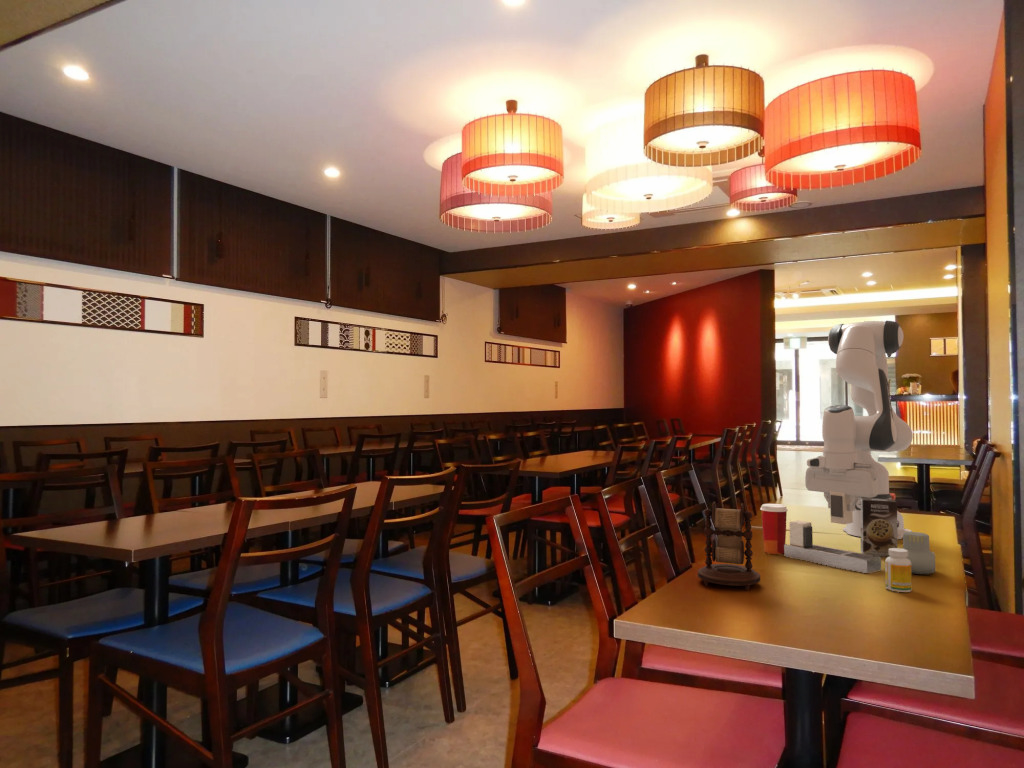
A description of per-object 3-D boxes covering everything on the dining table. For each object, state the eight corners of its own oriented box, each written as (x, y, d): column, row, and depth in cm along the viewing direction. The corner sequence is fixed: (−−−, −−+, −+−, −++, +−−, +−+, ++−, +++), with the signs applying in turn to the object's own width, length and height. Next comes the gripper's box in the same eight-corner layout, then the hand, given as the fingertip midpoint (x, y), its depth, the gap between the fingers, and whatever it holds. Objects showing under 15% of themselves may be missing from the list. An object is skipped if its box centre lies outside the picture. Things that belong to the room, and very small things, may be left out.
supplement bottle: (880, 588, 162) (879, 547, 162) (898, 586, 163) (898, 546, 163) (898, 594, 156) (897, 552, 157) (917, 592, 158) (916, 551, 158)
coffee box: (862, 555, 196) (861, 499, 196) (860, 550, 202) (859, 496, 202) (898, 557, 192) (897, 501, 193) (895, 553, 198) (894, 498, 199)
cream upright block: (838, 520, 197) (837, 489, 197) (852, 522, 193) (851, 491, 193) (829, 522, 194) (828, 491, 194) (843, 524, 191) (842, 493, 191)
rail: (798, 553, 198) (798, 519, 198) (881, 570, 178) (880, 532, 179) (784, 556, 194) (783, 522, 195) (867, 574, 174) (866, 535, 175)
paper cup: (783, 549, 203) (783, 503, 204) (791, 555, 196) (791, 507, 196) (757, 549, 204) (756, 503, 204) (764, 555, 196) (763, 507, 197)
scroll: (762, 579, 170) (761, 500, 171) (758, 594, 157) (756, 508, 157) (702, 573, 176) (701, 497, 177) (693, 587, 163) (692, 504, 163)
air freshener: (899, 565, 183) (898, 529, 184) (934, 569, 179) (933, 531, 179) (898, 574, 174) (897, 536, 174) (935, 579, 170) (935, 539, 170)
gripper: (882, 463, 187) (883, 513, 187) (813, 458, 204) (815, 503, 204) (870, 465, 184) (871, 516, 183) (801, 460, 200) (803, 506, 200)
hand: (841, 509), depth 194 cm, fingers closed on cream upright block, 4 cm apart
